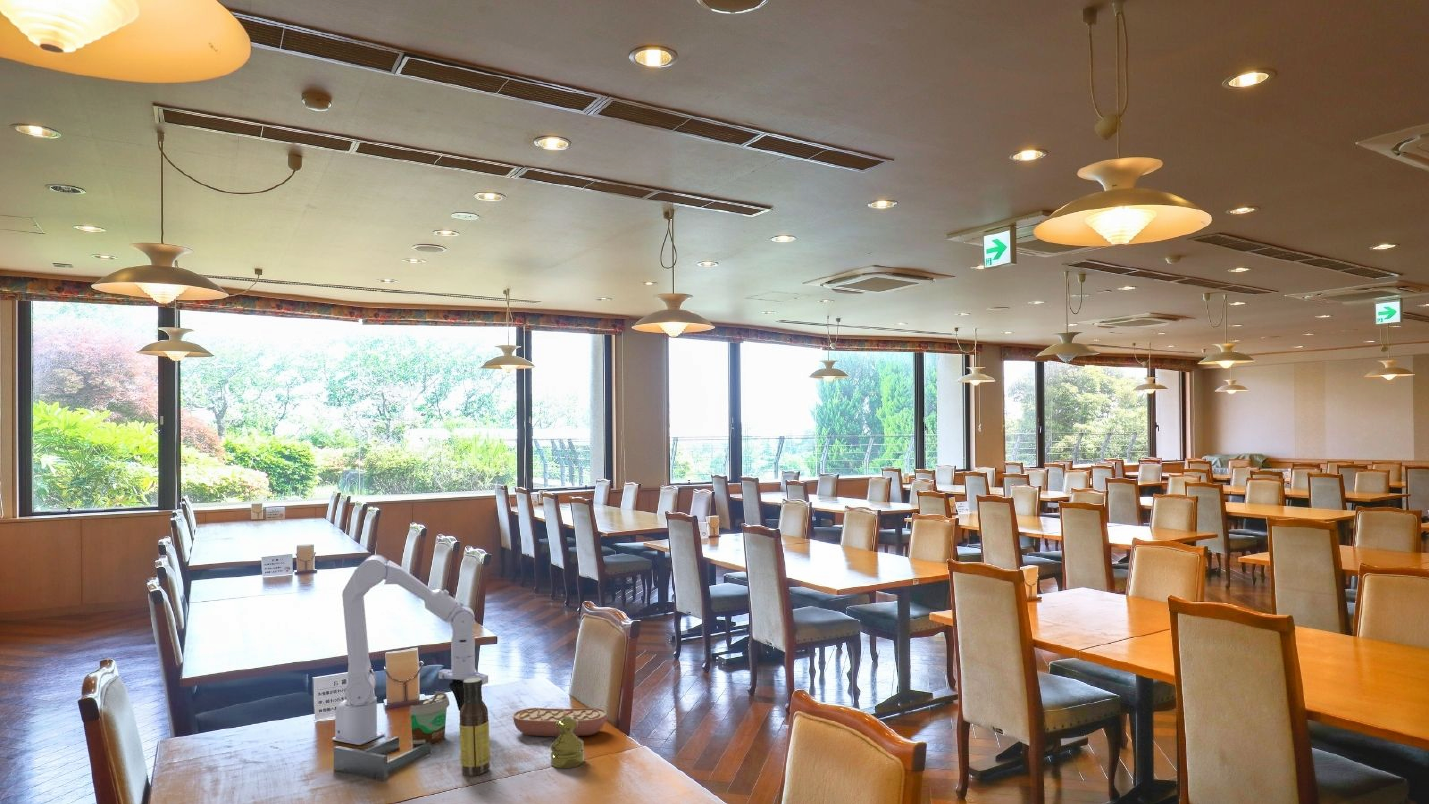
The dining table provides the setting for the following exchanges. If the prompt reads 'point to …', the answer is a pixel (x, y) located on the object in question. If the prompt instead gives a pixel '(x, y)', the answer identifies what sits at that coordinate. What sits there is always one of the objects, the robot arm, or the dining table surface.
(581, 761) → the olive rounded piece
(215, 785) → the dining table surface
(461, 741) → the sauce bottle
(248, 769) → the dining table surface
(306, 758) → the dining table surface
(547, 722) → the terracotta bread basket
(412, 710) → the food container
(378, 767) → the dock
